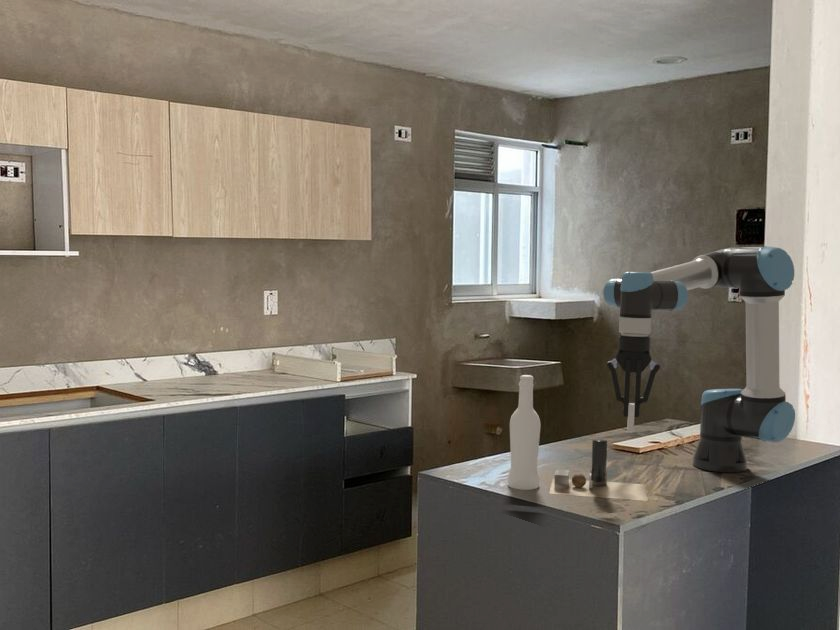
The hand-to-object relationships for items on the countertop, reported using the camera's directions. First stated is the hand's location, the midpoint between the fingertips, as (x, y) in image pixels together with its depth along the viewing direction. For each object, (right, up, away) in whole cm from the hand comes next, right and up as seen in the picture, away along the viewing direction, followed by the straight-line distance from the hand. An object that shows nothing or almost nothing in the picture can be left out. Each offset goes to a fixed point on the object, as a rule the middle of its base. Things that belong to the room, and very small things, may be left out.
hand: (630, 429), depth 211 cm
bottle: (-25, -17, +11) cm, 32 cm away
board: (-6, -18, +9) cm, 21 cm away
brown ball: (-11, -16, +10) cm, 22 cm away
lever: (-6, -16, +8) cm, 19 cm away
